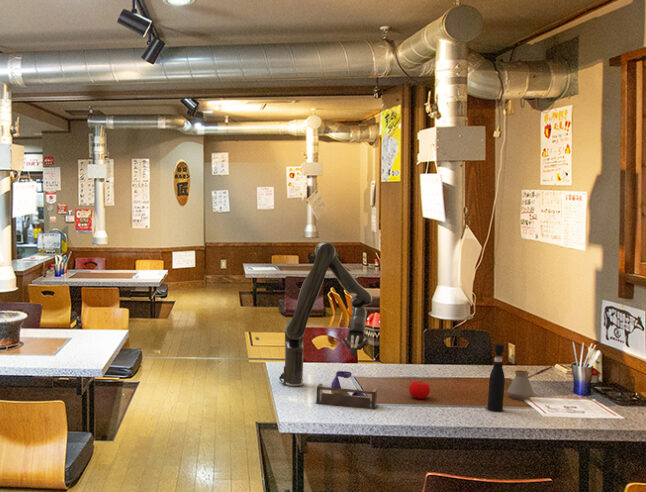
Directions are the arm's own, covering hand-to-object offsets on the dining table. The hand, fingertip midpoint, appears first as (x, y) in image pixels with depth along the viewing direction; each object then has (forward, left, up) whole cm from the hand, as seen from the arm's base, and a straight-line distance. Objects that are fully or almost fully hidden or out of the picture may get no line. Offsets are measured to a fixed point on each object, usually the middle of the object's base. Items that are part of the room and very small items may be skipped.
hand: (352, 355), depth 362 cm
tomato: (+31, +7, -20) cm, 38 cm away
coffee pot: (+80, +26, -20) cm, 87 cm away
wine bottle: (+64, -2, -20) cm, 67 cm away
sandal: (+2, -12, -20) cm, 23 cm away
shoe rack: (0, -16, -20) cm, 26 cm away
